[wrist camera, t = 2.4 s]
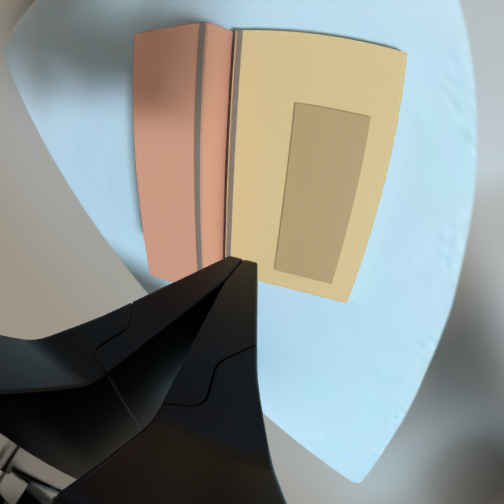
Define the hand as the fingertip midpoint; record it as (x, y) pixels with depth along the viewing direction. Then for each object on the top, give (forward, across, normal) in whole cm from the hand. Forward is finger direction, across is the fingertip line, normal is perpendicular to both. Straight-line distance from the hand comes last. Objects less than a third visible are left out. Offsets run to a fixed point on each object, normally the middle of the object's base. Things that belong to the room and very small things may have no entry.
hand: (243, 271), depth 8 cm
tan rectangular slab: (+11, 0, 0) cm, 11 cm away
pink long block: (+11, +8, 0) cm, 14 cm away
